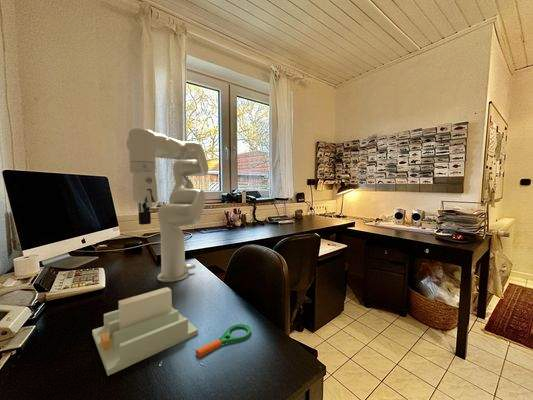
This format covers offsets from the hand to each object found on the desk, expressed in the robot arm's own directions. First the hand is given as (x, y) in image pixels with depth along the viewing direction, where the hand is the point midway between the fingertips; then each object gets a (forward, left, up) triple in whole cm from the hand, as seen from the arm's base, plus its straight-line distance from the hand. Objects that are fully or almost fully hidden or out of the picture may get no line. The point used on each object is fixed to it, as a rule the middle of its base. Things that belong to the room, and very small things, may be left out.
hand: (145, 223), depth 78 cm
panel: (+6, +18, -25) cm, 32 cm away
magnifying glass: (-7, +35, -27) cm, 45 cm away
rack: (+6, +19, -27) cm, 33 cm away
